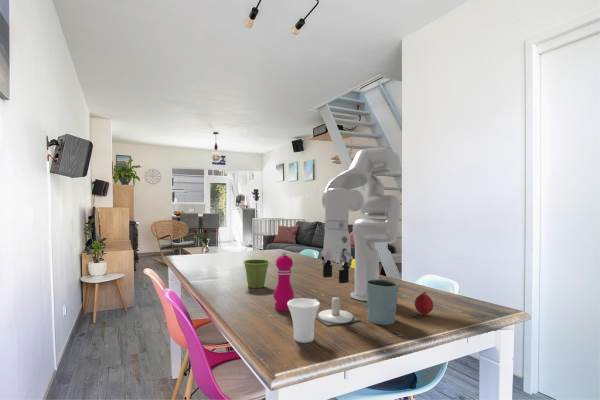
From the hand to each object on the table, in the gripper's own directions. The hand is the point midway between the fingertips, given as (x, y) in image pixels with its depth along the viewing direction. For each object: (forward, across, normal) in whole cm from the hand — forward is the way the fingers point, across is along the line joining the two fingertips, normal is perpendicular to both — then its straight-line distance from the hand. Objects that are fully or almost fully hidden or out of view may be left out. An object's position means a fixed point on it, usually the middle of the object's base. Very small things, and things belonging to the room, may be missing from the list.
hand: (335, 279), depth 106 cm
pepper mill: (+13, +18, +10) cm, 24 cm away
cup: (+13, -10, +16) cm, 23 cm away
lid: (+12, +1, -1) cm, 12 cm away
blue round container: (+13, -6, -14) cm, 20 cm away
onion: (+12, -8, -30) cm, 33 cm away
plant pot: (+12, +52, +9) cm, 54 cm away
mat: (+12, +1, -1) cm, 13 cm away
